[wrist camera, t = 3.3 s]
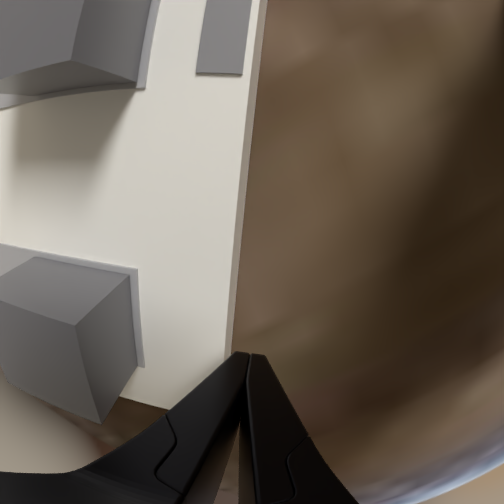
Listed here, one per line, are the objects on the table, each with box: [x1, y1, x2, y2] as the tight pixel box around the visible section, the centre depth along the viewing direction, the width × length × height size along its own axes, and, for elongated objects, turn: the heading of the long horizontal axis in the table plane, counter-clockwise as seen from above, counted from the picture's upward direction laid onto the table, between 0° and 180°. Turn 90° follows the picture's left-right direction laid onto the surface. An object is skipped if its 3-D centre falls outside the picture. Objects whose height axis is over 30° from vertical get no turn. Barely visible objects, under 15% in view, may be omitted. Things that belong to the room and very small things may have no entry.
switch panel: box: [0, 0, 268, 410], centre depth 8 cm, size 14×26×2 cm, turn 174°
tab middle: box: [0, 0, 151, 96], centre depth 5 cm, size 4×4×3 cm
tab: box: [0, 256, 138, 425], centre depth 8 cm, size 4×4×3 cm
